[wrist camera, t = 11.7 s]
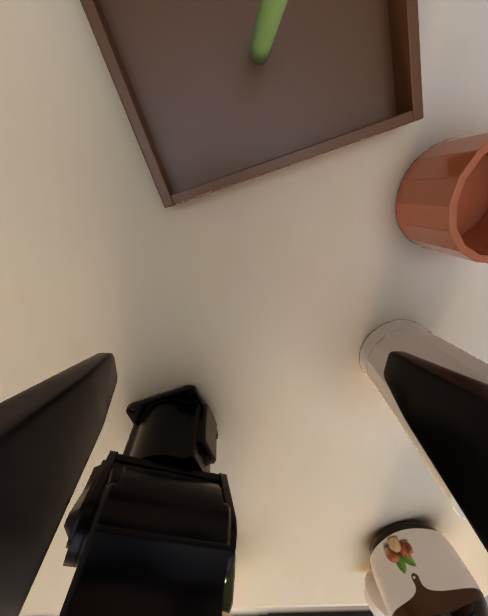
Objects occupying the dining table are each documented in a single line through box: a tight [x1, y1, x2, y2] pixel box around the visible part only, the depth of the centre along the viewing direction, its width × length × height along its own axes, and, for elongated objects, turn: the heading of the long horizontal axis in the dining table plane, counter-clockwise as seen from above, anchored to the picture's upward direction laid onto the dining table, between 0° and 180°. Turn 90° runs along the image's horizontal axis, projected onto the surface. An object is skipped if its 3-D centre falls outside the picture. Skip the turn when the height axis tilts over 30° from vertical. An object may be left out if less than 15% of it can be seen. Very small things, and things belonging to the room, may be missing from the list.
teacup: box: [396, 130, 488, 263], centre depth 18 cm, size 7×7×5 cm
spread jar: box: [364, 521, 488, 616], centre depth 32 cm, size 12×11×12 cm
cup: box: [359, 320, 488, 521], centre depth 20 cm, size 8×8×12 cm
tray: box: [80, 0, 423, 208], centre depth 15 cm, size 16×12×2 cm
